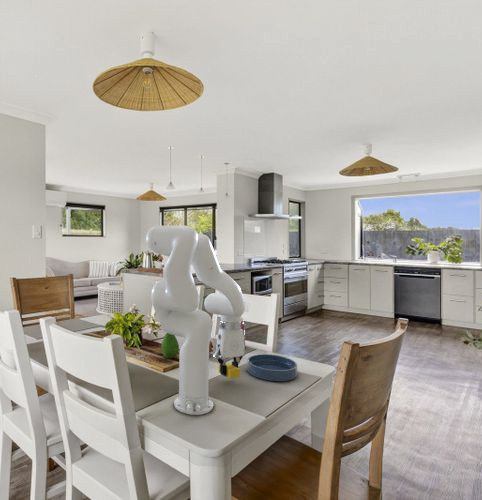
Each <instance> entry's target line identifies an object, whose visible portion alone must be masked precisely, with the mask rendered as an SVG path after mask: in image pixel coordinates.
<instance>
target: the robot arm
mask: <svg viewBox="0 0 482 500" xmlns="http://www.w3.org/2000/svg"><path fill="white" fill-rule="evenodd" d="M145 243H146V246H147V248H148V249H149V250H150V251H151V252H153V253H155V254H158V255H162V256H166V257H168V259H167V260H166V262H165V264H164V266H163V268H162V276H163V279H161V280H158V281H156V282H155V283H154V284H153V286H152V288H151V292H150V299H151V304H152V307H153V310H154V312H155V314H156V317H157V319H158V322H159V324H160V327H161V329H162V330H163V331H164V332H165V333H169V334H172V335H175V337H180V338H181V337H182V338H184V339H185V341H184V342H183V344H182V345H181V347H180V348H179V352H178V353H179V355H178V357H179V358H178V359H179V362H178V364H179V365H178V374H179V375H178V396H177V397H176V398H175V399H174V402H173V406H174V408H175V409H176V410H177V411H178V412H179V413H182V414H185V415H191V416H199V415H200V416H201V415H204V414H208V413H210V412H211V411H213V409H214V402H213V400H212V399H210V398H209V383H210V382H209V381H210V380H209V379H210V377H209V376H210V375H209V374H210V373H209V372H210V370H209V369H210V366H209V365H210V352H209V343H210V341H211V337H212V336H211V335H212V330H213V326H214V325H213V318H212V317H211V315H218V316H220V321H219V322H218V324H217V326H218V332H217V337H216V348H215V349H216V350H215V351H214V353H213V355H212V358H214V359H215V360H216V361H217V362H218V364H220V375H222V376H224V377H226V375H227V365H226V363H227V361H228V360H227V359H232V361H231V365H233V366H235V367H237V368H239V364H240V363H241V360H242V359H243V357H245V356H246V355H247V351H246V350H245V348H246V346H245V347H244V334H243V330H242V329H241V317H242V316H243V314H244V312H245V309H246V302H245V298H244V295H243V291H242V289H241V287H240V285H239V284H238V283H237V281H235V280H234V279H233V278H232V277H231V276H230V275H229V274H228V273H226V272H225V271H224V270H223V269H222V268H221V266H220V263H219V260H218V257H217V255H216V252H215V250H214V249H215V248H214V247H213V244H212V241H211V239H210V237H208V235H206V234H204V233H201V232H199V233H198V232H197V230H196V229H195V228H194V227H193V226H190V225H184V224H178V225H177V224H174V225H154V226H152V227H151V228H150V229H148V231H147V233H146V235H145ZM191 267H192V268H193V271H194V274H195V275H196V278H197V280H198V281H199V282H200V283H202V284H203V285H205V286H208V287H209V288H212V289H214V290H216V291H217V292H219V293H217V292H213V293H209V294H208V295H207V296H206V297H205V299H204V302H203V305H204V308H205V310H206V311H204V310H201V309H198V308H199V306H200V295H199V291H198V288H197V285H196V283H195V279H194V276H193V273H192V268H191ZM209 313H210V314H211V315H210V314H209Z"/></svg>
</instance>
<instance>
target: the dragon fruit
mask: <svg viewBox="0 0 482 500" xmlns="http://www.w3.org/2000/svg"><path fill="white" fill-rule="evenodd" d="M213 352H214V345H213V341H211V340H210V343H209V353H213Z"/></svg>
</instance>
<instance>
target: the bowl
mask: <svg viewBox="0 0 482 500" xmlns="http://www.w3.org/2000/svg"><path fill="white" fill-rule="evenodd" d="M246 370H247V372H248V373H249V374H250V375H252V376H253V377H256V378H258V379H260V380H264V381H269V382H287V381H293V380H294V379H296V378H297V377H298V363H297V362H296V361H294V360H293V359H291V358H288V357H286V356H283V355H277V354H269V353H267V354H266V353H259V354H253V355H251V356H249V357H247V359H246Z"/></svg>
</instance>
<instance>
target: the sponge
mask: <svg viewBox="0 0 482 500" xmlns="http://www.w3.org/2000/svg"><path fill="white" fill-rule="evenodd" d="M226 365H227V375H226V376H225V377H226V378H228V379H235V378H236V379H237V378H240V377H241V368H240V367H238V368H237V367H235V366H233V365H232V363H229V362H226ZM218 373H220V363H218Z"/></svg>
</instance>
